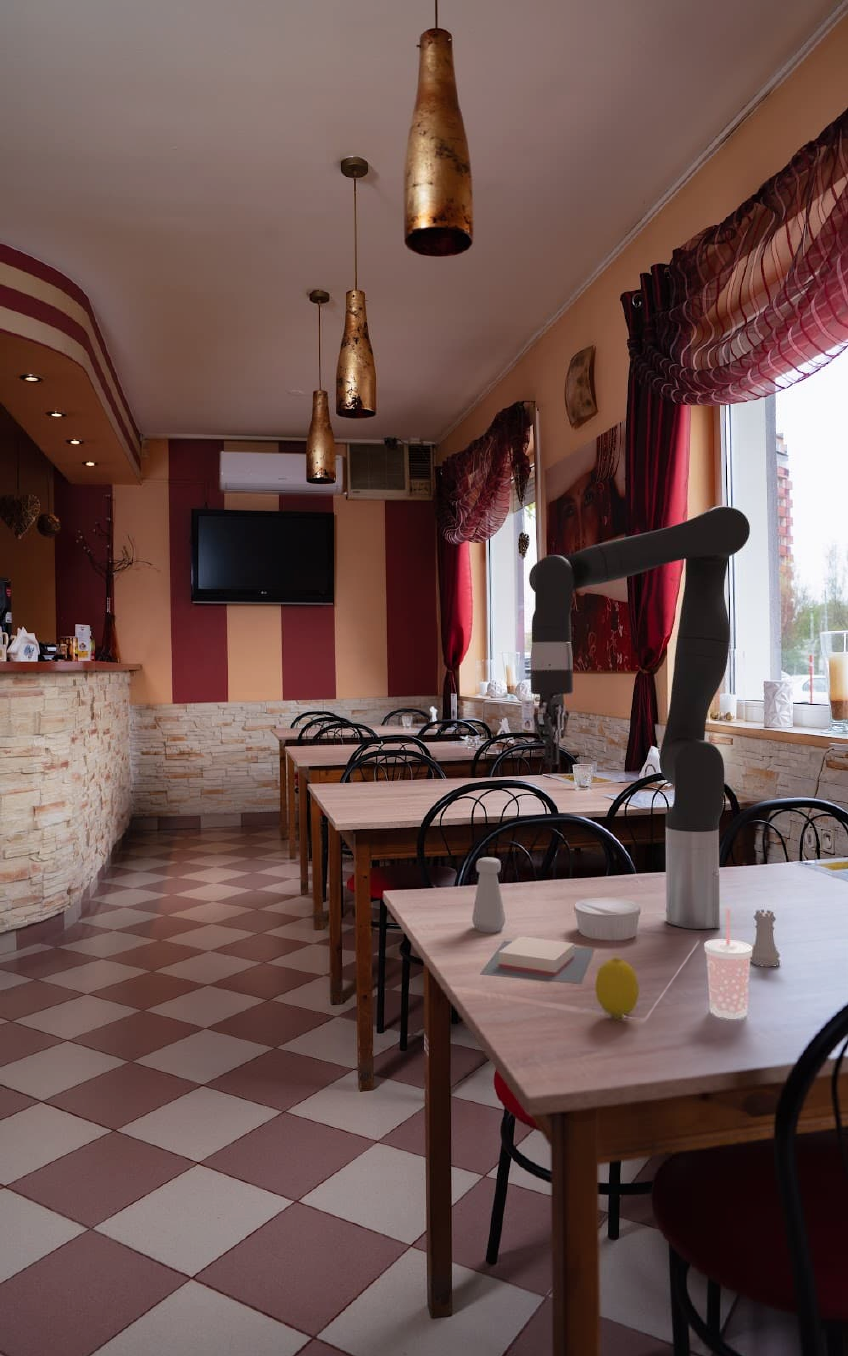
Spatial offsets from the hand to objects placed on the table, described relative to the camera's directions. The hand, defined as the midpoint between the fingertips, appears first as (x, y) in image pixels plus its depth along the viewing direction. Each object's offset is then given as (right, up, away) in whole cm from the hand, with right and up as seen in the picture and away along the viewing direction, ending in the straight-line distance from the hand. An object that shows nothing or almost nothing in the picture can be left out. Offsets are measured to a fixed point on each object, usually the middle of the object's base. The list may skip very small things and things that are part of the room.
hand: (552, 763), depth 160 cm
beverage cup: (+17, -29, -42) cm, 54 cm away
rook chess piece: (+30, -29, -22) cm, 47 cm away
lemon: (+2, -30, -43) cm, 53 cm away
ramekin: (+9, -29, -7) cm, 31 cm away
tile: (-4, -27, -19) cm, 33 cm away
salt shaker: (-12, -29, -4) cm, 32 cm away
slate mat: (-5, -29, -22) cm, 37 cm away
